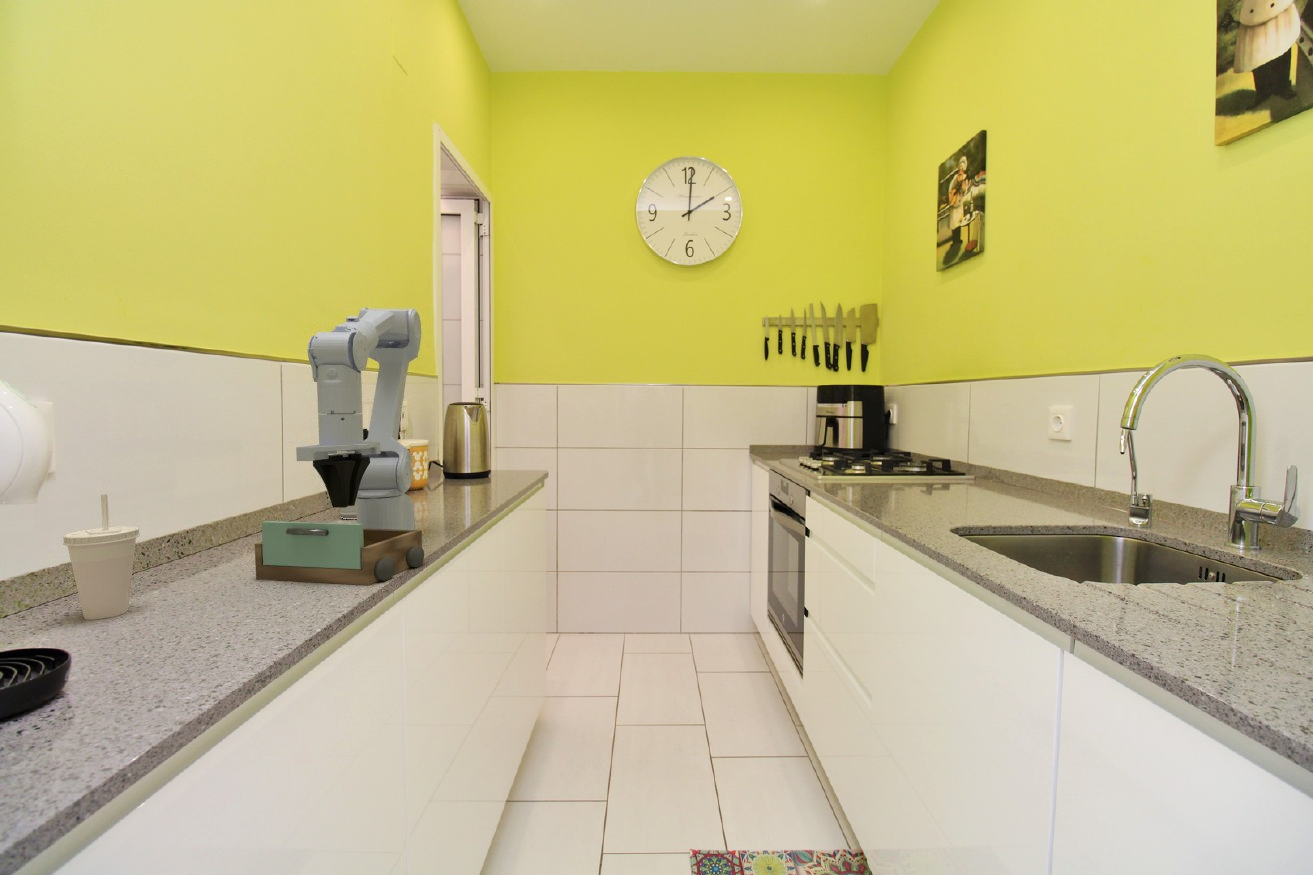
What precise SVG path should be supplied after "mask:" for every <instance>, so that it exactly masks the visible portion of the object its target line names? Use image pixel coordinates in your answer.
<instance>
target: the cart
mask: <svg viewBox="0 0 1313 875" xmlns="http://www.w3.org/2000/svg"><path fill="white" fill-rule="evenodd" d="M422 531H423V530H422V529H421V530H420V529H415V530H394V529H363V540H364V547H363V548H362V569H342V568H321V567H300V566H279V565H263V544H262V541H260V542H256V543H254V562H255V564H254V565H255V579H256V580H263V581H264V580H265V581H283V582H303V583H318V584H319V583H321V584H335V585H336V584H337V585H338V584H340V585H355V586H356V585H357V586H358V585H361V586H371V585H373V584H375V583H378V582H380V581H384V582H385V581H387V582H388V581H389V580H391V579H392V577H393V576H394V575H397V574H399V573H401V572H403V571H406V570H408V569H411V568H420V567H421V566H422V565H423V562H424V560H425V550H424V549H423V537H422V536H423V533H422Z"/></svg>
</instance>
